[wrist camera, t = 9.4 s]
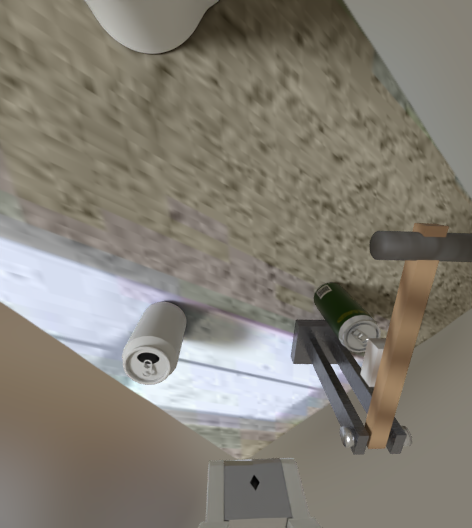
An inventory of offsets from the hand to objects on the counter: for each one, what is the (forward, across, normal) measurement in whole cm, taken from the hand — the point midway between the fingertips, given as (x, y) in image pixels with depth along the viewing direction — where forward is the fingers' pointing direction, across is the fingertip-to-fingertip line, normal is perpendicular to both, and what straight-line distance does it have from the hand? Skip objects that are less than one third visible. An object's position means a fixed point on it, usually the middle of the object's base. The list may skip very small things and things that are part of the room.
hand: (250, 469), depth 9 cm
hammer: (+18, -17, +7) cm, 26 cm away
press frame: (+34, -17, +19) cm, 43 cm away
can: (+34, +11, +15) cm, 39 cm away
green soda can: (+34, -17, +10) cm, 40 cm away
